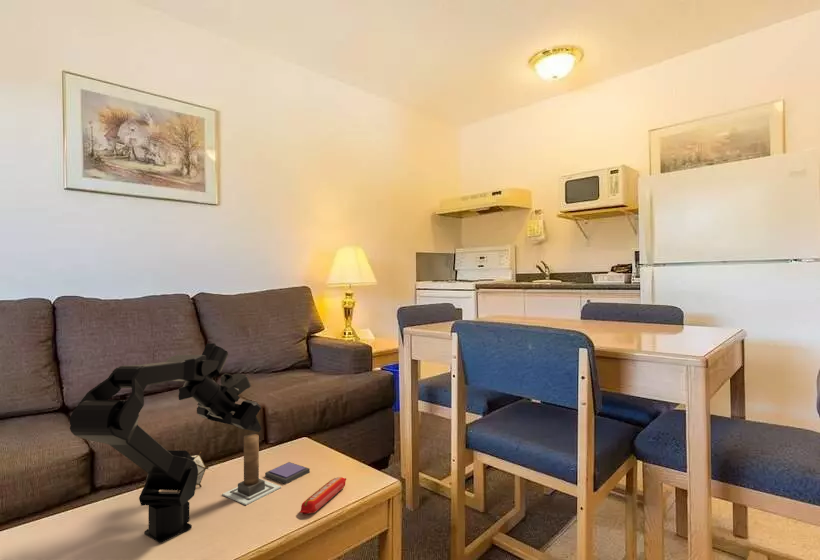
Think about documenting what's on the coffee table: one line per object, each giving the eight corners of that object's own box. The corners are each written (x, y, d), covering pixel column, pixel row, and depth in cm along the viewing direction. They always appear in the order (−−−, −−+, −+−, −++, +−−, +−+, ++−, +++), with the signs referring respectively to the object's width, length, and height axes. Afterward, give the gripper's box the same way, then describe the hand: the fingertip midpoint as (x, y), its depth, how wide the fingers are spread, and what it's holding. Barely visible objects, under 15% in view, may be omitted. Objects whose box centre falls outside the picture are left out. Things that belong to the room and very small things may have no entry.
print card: (246, 505, 97) (245, 503, 97) (222, 495, 102) (222, 493, 102) (281, 487, 105) (281, 485, 105) (257, 478, 110) (257, 477, 110)
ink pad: (286, 484, 107) (286, 478, 107) (265, 476, 112) (265, 471, 112) (309, 472, 114) (309, 467, 114) (289, 465, 118) (289, 460, 118)
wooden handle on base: (249, 496, 100) (249, 441, 101) (237, 491, 103) (237, 437, 103) (264, 489, 104) (264, 435, 104) (253, 484, 106) (253, 432, 107)
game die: (193, 505, 105) (194, 482, 99) (161, 492, 105) (160, 469, 100) (215, 473, 112) (217, 450, 107) (185, 461, 112) (185, 438, 107)
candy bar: (335, 484, 108) (335, 472, 108) (348, 486, 106) (348, 474, 106) (296, 516, 93) (296, 502, 93) (311, 520, 91) (311, 505, 91)
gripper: (254, 369, 101) (290, 404, 110) (207, 361, 111) (244, 395, 120) (223, 410, 94) (265, 445, 103) (177, 399, 104) (219, 431, 113)
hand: (248, 427), depth 110 cm, fingers open, 9 cm apart
